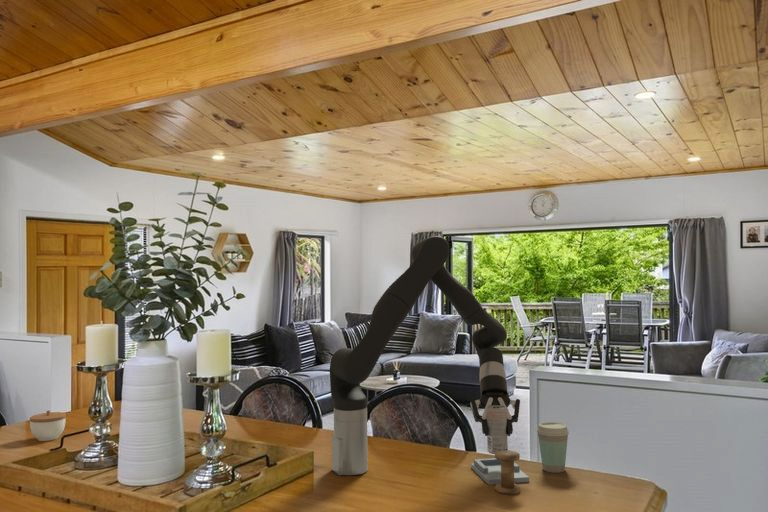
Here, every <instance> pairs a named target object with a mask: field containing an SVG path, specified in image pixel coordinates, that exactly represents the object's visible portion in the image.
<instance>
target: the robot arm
mask: <svg viewBox="0 0 768 512" xmlns="http://www.w3.org/2000/svg"><path fill="white" fill-rule="evenodd" d="M449 256H450V246H449V242H448V241H447V240H446V239H445V238H444V237H442V236H438V235H432V236H429V237H426V238H424V239H422V240H420V241H418V242H417V243H416V244H414V245H413V248H412V250H411V257H412V260H413V261H412V263H411V265H409V267H408V268H406V270H404V272H403V273H402V274H401V275H399V276H398V278H396V279H395V280H394V281H393V282H392V283H391V284H390V285H389V286H388V287H387V289H386V290H385V291H384V292H383V294H382V295H381V296H380V298H379V299H378V301H377V302H376V304H375V306H374V307H373V309H372V311H371V316H370V321H369V324H368V327H367V330H366V332H365V334H364V335H363V337H362V338H361V339H360V340H359V342H358V344H356V346H355V347H354V348H348V347H343V348H339V349H338V350H336V351H335V352H334V353H333V355H332V357H331V358H330V359H331V360H330V363H329V381H330V383H329V386H330V396H331V399H332V402H333V434H331V439H330V441H331V446H330V447H331V470H332V471H333V472H334V473H335V474H336V475H338V476H356V475H362V474H365V473H367V471H368V468H369V467H368V466H369V463H368V462H369V461H368V460H369V459H368V457H369V456H368V455H369V454H368V452H369V451H368V398H367V396H366V395H365V394H364V392H363V391H362V387H361V383H364V382H365V381H366V380H367V379H368V378H369V376H370V375H372V372H373V370H374V368H375V367H376V365H377V363H378V361H379V359H380V357H381V356H382V354H383V352H384V350H385V348H386V347H387V345H388V344H389V342H390V341H391V339H392V338H393V337H394V336H395V333H396V332H397V331H398V329H399V327H400V326H401V325H402V323H403V322H404V321H405V320H406V318H407V316H408V315H409V313H410V312H411V311H412V308H413V307H414V305H415V304H416V302H417V301H418V300H419V298H420V297H421V295H422V293H423V292H424V290H425V288H426V287H427V285H428V284H429V282H430V281H431V282H432V283H433V284H434V285H435V286H436V287H437V288H438V289H439V291H440V292H441V293H442V294H443V295H444V296H445V297H446V299H447V300H448V301H449V302H450V304H451V305H452V307H453V308H454V309H455V311H456V312H457V313H458V315H459V316H460V318H461V319H462V320H463V322H464V323H465V325H467V326H475V325H481V327H480V328H477V329H476V330H475V331H474V332H473V333H472V337H471V342H472V344H473V346H474V349H475V351H476V354H477V357H478V360H479V361H478V362H479V380H478V381H479V387H480V398H479V399H474V398H471V399H470V408H471V413H472V416H473V419H474V422H475V423H480V424H481V432H482V434H483V435H484V436H485V437H487V436H488V426H487V407H488V406H491V405H500V406H505V407H506V410H507V437H511V435H513V432H514V431H513V430H514V428H513V423H518V421H519V415H520V414H519V413H520V405H521V399H520V398H516V399H515V400H514V399H510V396H509V394H508V393H509V391H508V384H507V383H508V382H507V375H506V374H507V373H506V371H505V365H504V356H503V352H502V350H500V349H499V348H497V346H499V345H502V344H503V343H504V342H506V340H507V337H508V336H507V335H508V334H507V330H506V328H505V327H504V325H503V324H502V323H500V321H498V320H497V319H496V318H495V317H493V316H492V315H491V314H490V313H488V311H487V310H486V309H484V307H483V306H482V305H481V303H480V302H479V300H478V299H477V298H476V296H475V295H474V294H473V293H472V291H470V290H469V288H468V287H467V286H465V285H464V284H463V283H462V282H460V281H459V280H458V279H456V278H455V277H454V276H453V275H452V274H451V272H449V270H448V269H447V268H446V266H445V263H446V262H447V260H448V258H449ZM479 405H480V406H481V407H482V408H483V409H484V410H483V413H482V415H481V414H479V409H478V408H479V407H480V406H479ZM510 405H511V408H512V409H513V410H514V413H513V415H512V414H511V413H510V411H509V409H508V408H509V406H510Z"/></svg>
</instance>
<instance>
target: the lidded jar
mask: <svg viewBox="0 0 768 512" xmlns="http://www.w3.org/2000/svg"><path fill="white" fill-rule="evenodd" d="M66 417H67V414H66V413H65V412H62V411H60V412H59V411H53V412H51V410H49V409H48V410H46V412H44V413H38V414H34V415H31V416H30V417H29V424H30V425H29V426H30V432H31V434H32V436H33V437H34V438H35V439H37V441H39V442H47V441H54V440H57V439H59V437H60V435H62V433H63V432H64V429H65V427H66V422H67V421H66Z"/></svg>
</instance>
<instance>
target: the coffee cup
mask: <svg viewBox="0 0 768 512" xmlns="http://www.w3.org/2000/svg"><path fill="white" fill-rule="evenodd" d="M537 426H538V427H537V428H536V433H537V435H538V443H539V451H540V458H541V466H542V470H543V471H545V472H548V473H551V474H552V473H554V474H555V473H557V474H560V473H563V472H565V470H566V469H565V468H566V458H567V450H568V449H567V448H568V439H569V438H568V436H569V435H570V432H569V429H568V426H567V424H564V423H563V422H562V423H561V422H557V421H555V422H554V421H544V422H539V424H538V425H537Z"/></svg>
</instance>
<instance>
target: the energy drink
mask: <svg viewBox="0 0 768 512" xmlns="http://www.w3.org/2000/svg"><path fill="white" fill-rule="evenodd" d="M487 426H488V436H486V437H487V438H486V439H487V442H486V443H487V452H488V453H489V454H491V455H495V452H497V451H501V450H509V449H508V448H509V447H508V446H509V445H508V443H509V442H508V435H507V410H506V407H505V406H500V405H491V406H488V407H487Z"/></svg>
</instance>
